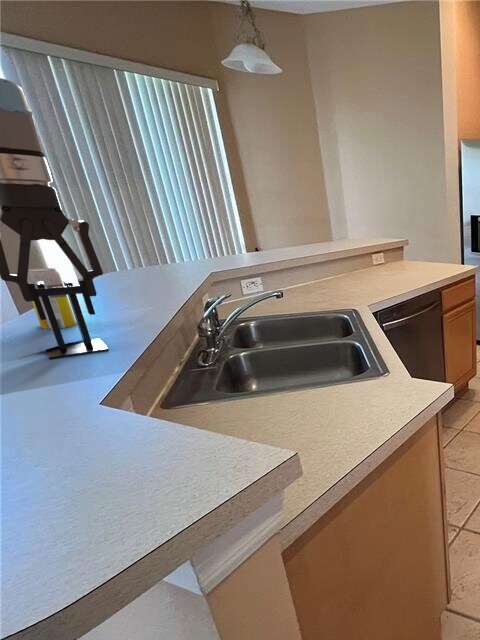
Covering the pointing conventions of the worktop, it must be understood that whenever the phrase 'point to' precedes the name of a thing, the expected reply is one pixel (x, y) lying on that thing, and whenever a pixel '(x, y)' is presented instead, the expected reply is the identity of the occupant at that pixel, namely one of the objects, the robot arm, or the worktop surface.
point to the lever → (58, 291)
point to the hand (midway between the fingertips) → (68, 315)
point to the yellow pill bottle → (58, 304)
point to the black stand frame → (87, 344)
